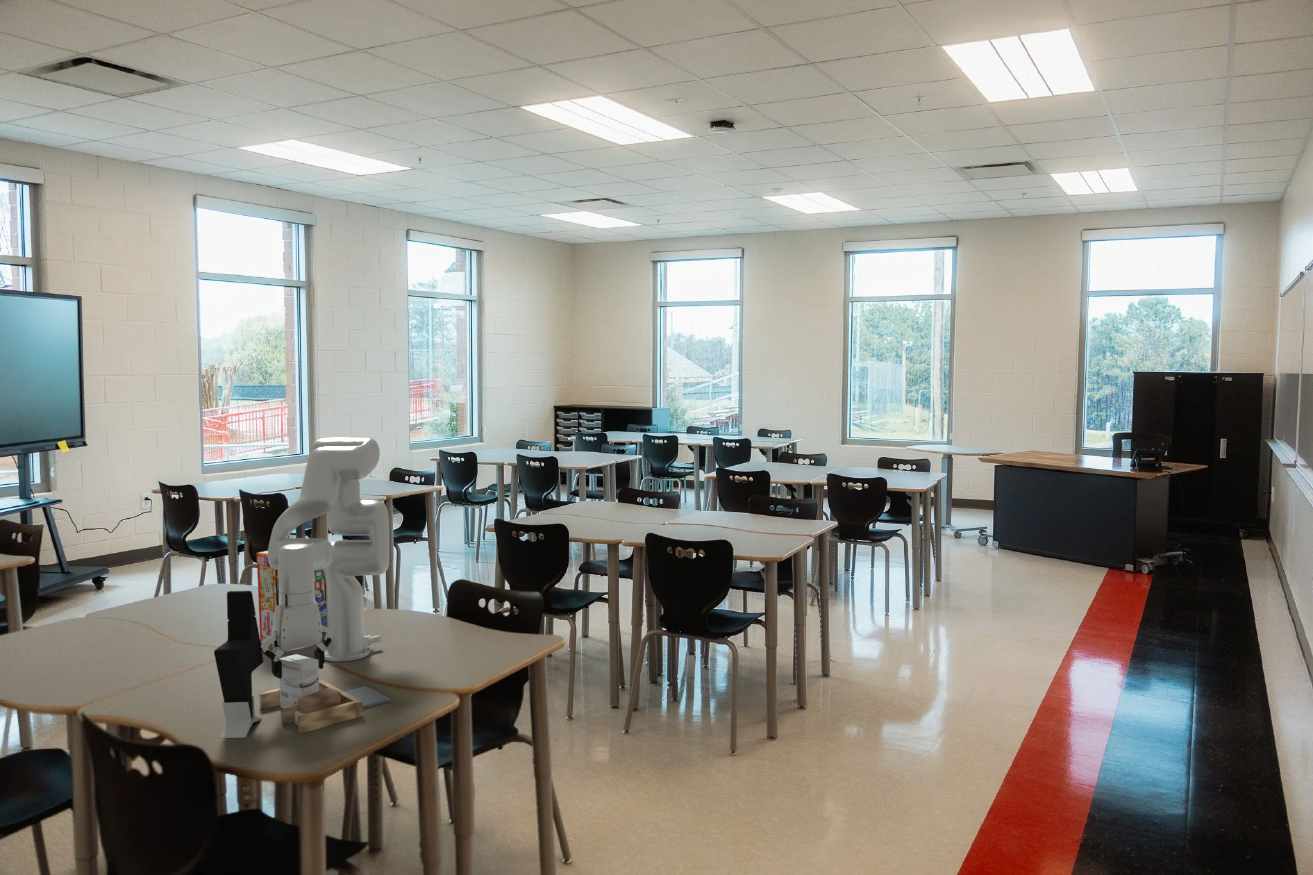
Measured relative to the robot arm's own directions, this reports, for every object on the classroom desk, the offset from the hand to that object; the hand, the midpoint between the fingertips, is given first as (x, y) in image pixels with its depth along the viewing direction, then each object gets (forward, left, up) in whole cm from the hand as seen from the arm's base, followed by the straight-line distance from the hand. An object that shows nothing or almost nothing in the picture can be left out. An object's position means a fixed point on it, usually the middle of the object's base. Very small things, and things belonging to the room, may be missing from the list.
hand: (298, 672), depth 210 cm
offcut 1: (0, +10, -9) cm, 13 cm away
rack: (0, +3, -9) cm, 9 cm away
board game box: (-23, -55, -9) cm, 60 cm away
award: (+14, +2, -9) cm, 16 cm away
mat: (-13, +4, -9) cm, 16 cm away
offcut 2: (0, +10, -6) cm, 11 cm away
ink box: (0, 0, -9) cm, 9 cm away
